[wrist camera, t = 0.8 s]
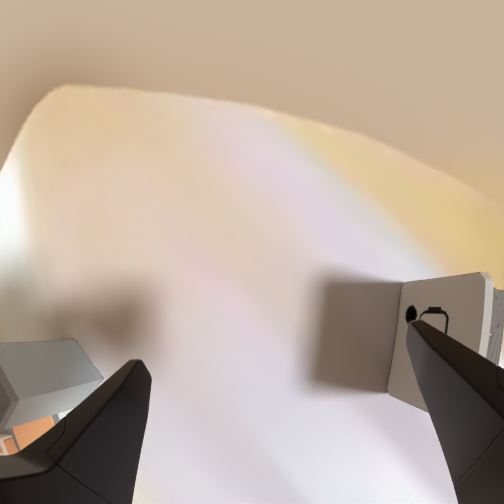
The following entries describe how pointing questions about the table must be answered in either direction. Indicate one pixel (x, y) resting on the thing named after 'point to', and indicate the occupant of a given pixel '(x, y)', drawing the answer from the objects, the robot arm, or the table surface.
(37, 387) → the cap
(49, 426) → the board
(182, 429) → the table surface
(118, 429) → the robot arm
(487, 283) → the electrical switch
